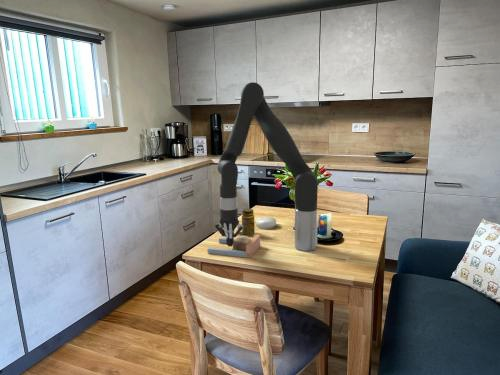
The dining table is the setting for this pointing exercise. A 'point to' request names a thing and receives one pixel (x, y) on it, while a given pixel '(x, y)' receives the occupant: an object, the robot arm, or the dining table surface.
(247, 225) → the condiment
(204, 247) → the dining table surface
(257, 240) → the guide track
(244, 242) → the block
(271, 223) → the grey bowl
